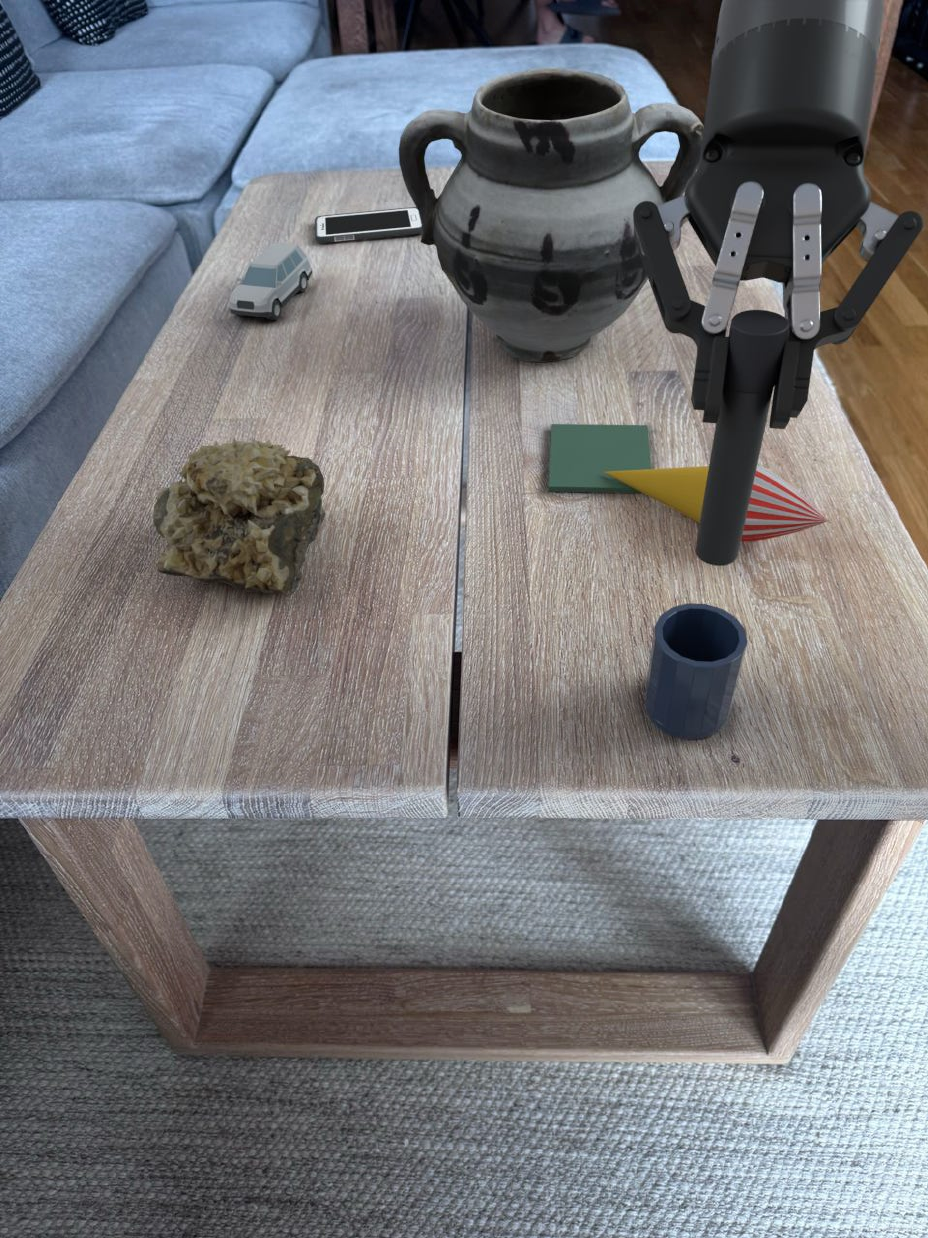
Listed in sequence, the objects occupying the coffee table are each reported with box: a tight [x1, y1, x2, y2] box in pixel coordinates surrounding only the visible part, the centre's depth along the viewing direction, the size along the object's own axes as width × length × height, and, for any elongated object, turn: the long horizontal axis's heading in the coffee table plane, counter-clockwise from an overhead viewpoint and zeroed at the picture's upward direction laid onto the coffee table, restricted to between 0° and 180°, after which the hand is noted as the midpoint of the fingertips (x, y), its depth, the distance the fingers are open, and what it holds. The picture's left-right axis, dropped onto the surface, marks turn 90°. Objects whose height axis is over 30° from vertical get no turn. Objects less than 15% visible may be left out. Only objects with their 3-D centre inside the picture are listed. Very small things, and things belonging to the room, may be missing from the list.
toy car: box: [229, 242, 313, 321], centre depth 107 cm, size 6×13×5 cm, turn 163°
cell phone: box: [314, 206, 422, 244], centre depth 123 cm, size 8×15×1 cm, turn 97°
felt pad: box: [547, 423, 652, 494], centre depth 82 cm, size 9×10×1 cm
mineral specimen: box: [152, 438, 327, 597], centre depth 71 cm, size 14×13×10 cm
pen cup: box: [644, 603, 749, 740], centre depth 59 cm, size 6×6×7 cm
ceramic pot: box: [398, 67, 704, 363], centre depth 90 cm, size 29×23×25 cm
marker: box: [694, 309, 789, 567], centre depth 47 cm, size 3×3×14 cm
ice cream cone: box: [604, 464, 829, 543], centre depth 74 cm, size 6×6×20 cm
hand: (745, 420), depth 44 cm, fingers closed on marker, 2 cm apart
